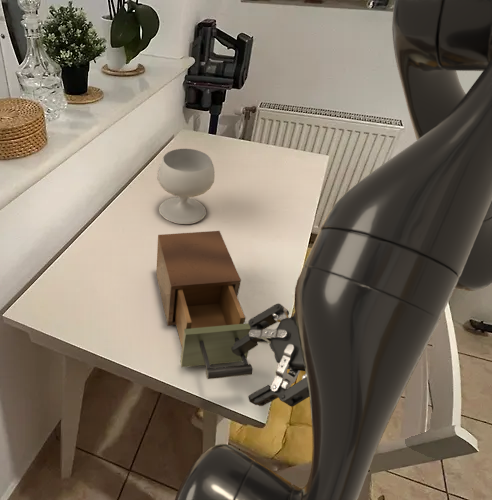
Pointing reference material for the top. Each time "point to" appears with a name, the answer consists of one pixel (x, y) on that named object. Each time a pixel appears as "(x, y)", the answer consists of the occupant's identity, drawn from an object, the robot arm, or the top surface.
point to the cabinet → (192, 265)
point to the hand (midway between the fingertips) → (242, 375)
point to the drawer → (211, 329)
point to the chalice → (185, 184)
